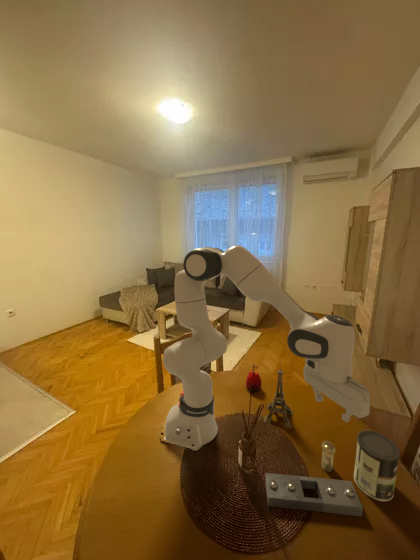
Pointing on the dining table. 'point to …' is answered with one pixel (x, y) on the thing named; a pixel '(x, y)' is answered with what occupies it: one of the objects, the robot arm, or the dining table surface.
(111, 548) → the dining table surface
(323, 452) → the pin
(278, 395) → the eiffel tower
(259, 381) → the red rounded piece
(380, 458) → the coffee can
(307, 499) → the grey peg board
